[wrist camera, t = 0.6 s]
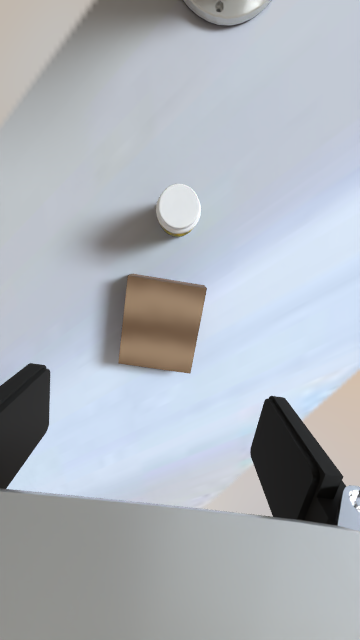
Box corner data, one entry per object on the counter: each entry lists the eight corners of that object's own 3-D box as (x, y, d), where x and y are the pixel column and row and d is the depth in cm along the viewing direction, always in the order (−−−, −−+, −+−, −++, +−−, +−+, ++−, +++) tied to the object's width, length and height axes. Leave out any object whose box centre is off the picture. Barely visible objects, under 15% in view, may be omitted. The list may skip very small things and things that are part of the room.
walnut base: (131, 273, 34) (127, 275, 31) (204, 285, 34) (206, 288, 31) (122, 354, 37) (118, 363, 34) (189, 364, 37) (190, 373, 34)
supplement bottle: (157, 234, 32) (151, 228, 24) (160, 195, 31) (155, 175, 23) (193, 239, 33) (200, 234, 24) (198, 200, 31) (206, 182, 23)
